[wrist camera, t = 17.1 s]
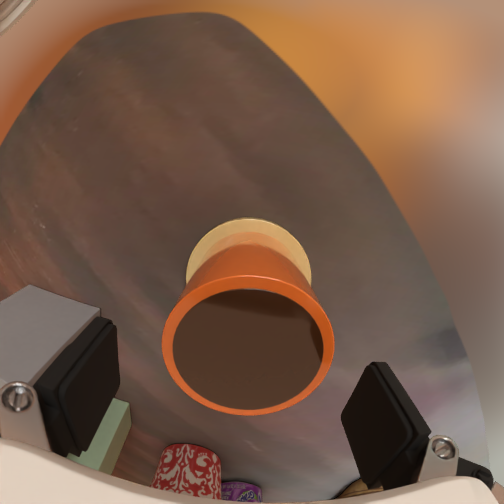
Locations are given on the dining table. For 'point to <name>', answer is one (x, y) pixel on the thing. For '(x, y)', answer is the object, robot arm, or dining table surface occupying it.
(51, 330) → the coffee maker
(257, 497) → the beverage can
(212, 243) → the flat yellow disc
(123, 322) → the dining table surface
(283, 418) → the dining table surface
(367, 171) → the dining table surface
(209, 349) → the orange cup
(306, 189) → the dining table surface
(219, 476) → the mug
